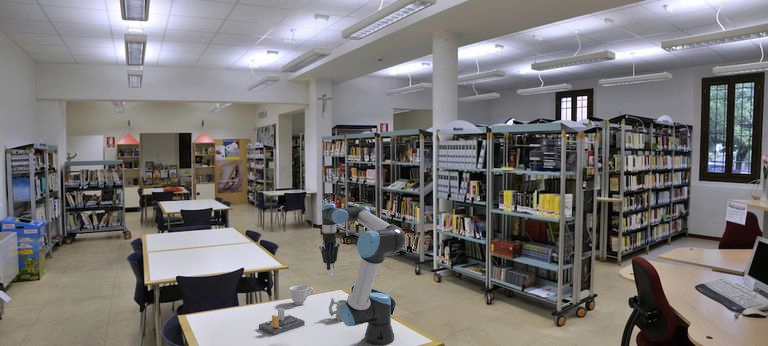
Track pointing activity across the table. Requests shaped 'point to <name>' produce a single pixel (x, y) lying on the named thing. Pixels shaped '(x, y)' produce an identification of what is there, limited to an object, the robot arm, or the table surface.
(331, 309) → the mug
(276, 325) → the fader orange
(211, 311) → the table surface
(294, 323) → the console
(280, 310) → the fader white
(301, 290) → the teacup
